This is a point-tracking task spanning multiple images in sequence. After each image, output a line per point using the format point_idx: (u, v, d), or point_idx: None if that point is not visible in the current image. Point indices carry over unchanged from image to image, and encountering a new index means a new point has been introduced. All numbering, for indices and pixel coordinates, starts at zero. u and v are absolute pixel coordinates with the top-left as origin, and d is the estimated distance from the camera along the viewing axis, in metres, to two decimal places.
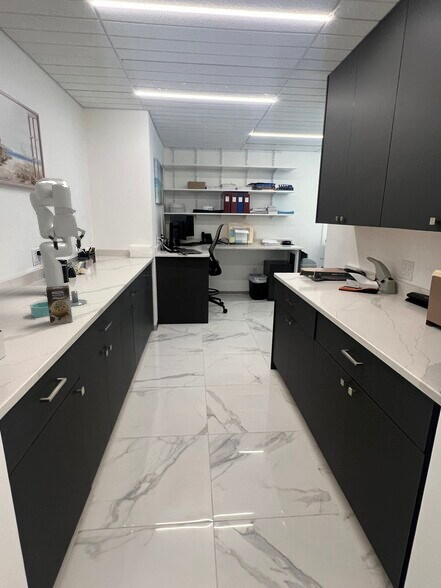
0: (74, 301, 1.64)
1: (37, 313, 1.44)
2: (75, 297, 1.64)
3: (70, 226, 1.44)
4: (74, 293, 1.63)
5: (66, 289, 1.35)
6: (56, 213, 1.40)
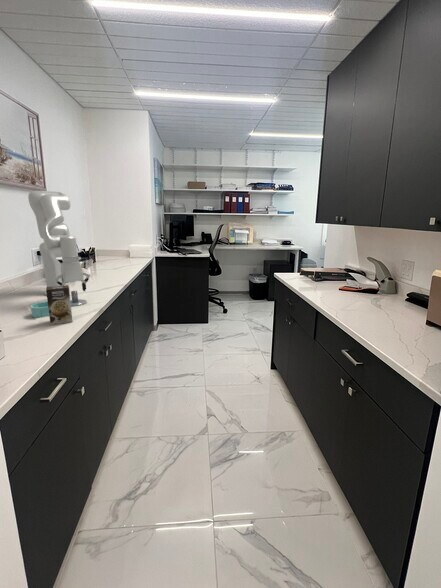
0: (74, 301, 1.64)
1: (37, 313, 1.44)
2: (75, 297, 1.64)
3: (76, 272, 1.60)
4: (74, 293, 1.63)
5: (66, 289, 1.35)
6: (64, 262, 1.57)
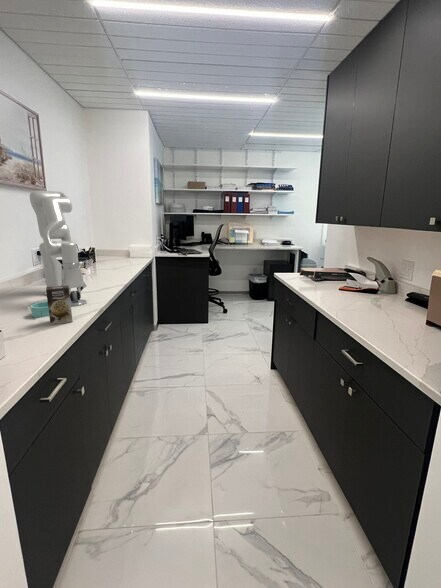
0: (74, 301, 1.64)
1: (37, 313, 1.44)
2: (75, 297, 1.64)
3: (77, 278, 1.61)
4: (74, 293, 1.63)
5: (66, 289, 1.35)
6: (64, 268, 1.58)
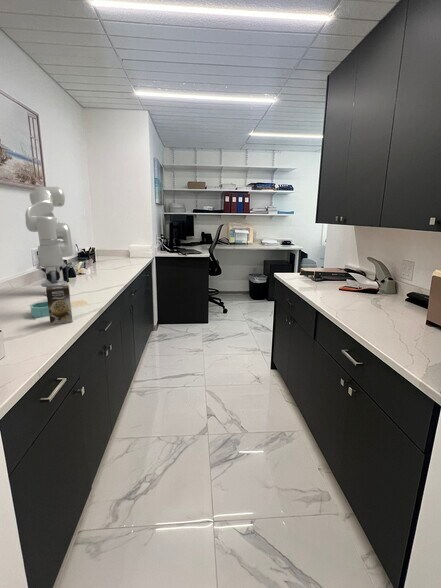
0: (53, 282, 1.50)
1: (37, 313, 1.44)
2: (54, 277, 1.50)
3: (55, 256, 1.48)
4: (52, 273, 1.49)
5: (66, 289, 1.35)
6: (41, 244, 1.44)
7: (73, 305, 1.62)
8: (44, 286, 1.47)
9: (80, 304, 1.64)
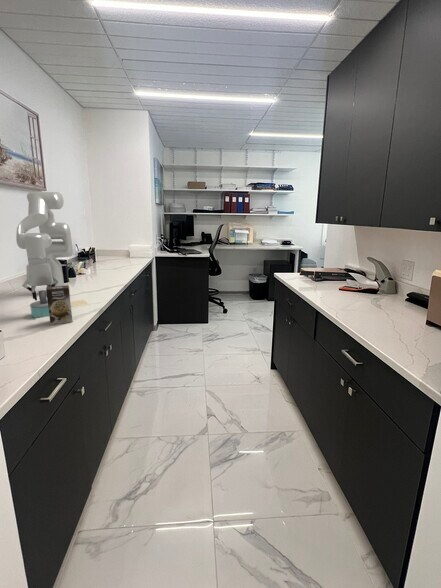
0: (42, 302, 1.46)
1: (37, 313, 1.44)
2: (43, 297, 1.46)
3: (44, 275, 1.44)
4: (42, 293, 1.45)
5: (66, 289, 1.35)
6: (29, 263, 1.40)
7: (73, 305, 1.62)
8: (33, 307, 1.43)
9: (80, 304, 1.64)
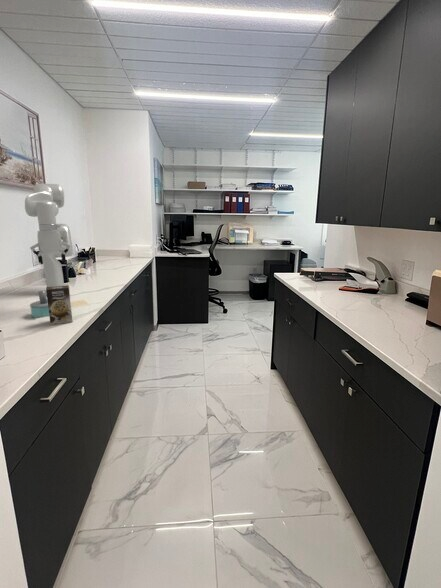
0: (42, 302, 1.46)
1: (37, 313, 1.44)
2: (43, 297, 1.46)
3: (54, 241, 1.49)
4: (42, 293, 1.45)
5: (66, 289, 1.35)
6: (40, 229, 1.45)
7: (73, 305, 1.62)
8: (33, 307, 1.43)
9: (80, 304, 1.64)
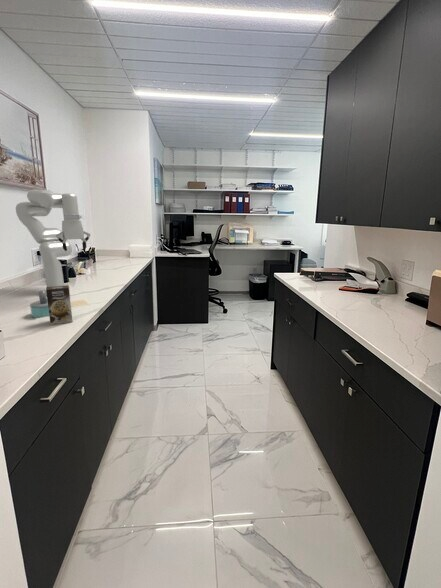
0: (42, 302, 1.46)
1: (37, 313, 1.44)
2: (43, 297, 1.46)
3: (77, 230, 1.65)
4: (42, 293, 1.45)
5: (66, 289, 1.35)
6: (65, 219, 1.61)
7: (73, 305, 1.62)
8: (33, 307, 1.43)
9: (80, 304, 1.64)
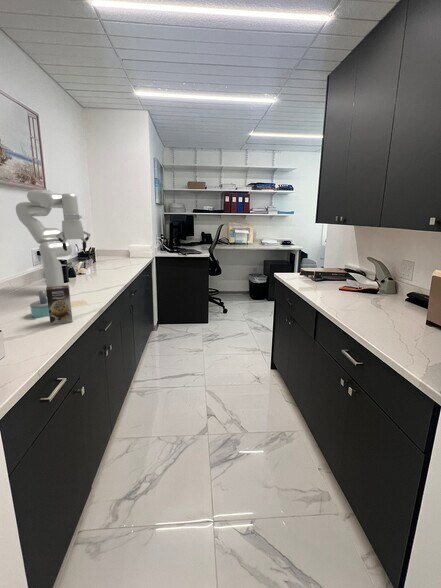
0: (42, 302, 1.46)
1: (37, 313, 1.44)
2: (43, 297, 1.46)
3: (77, 230, 1.65)
4: (42, 293, 1.45)
5: (66, 289, 1.35)
6: (65, 219, 1.61)
7: (73, 305, 1.62)
8: (33, 307, 1.43)
9: (80, 304, 1.64)
